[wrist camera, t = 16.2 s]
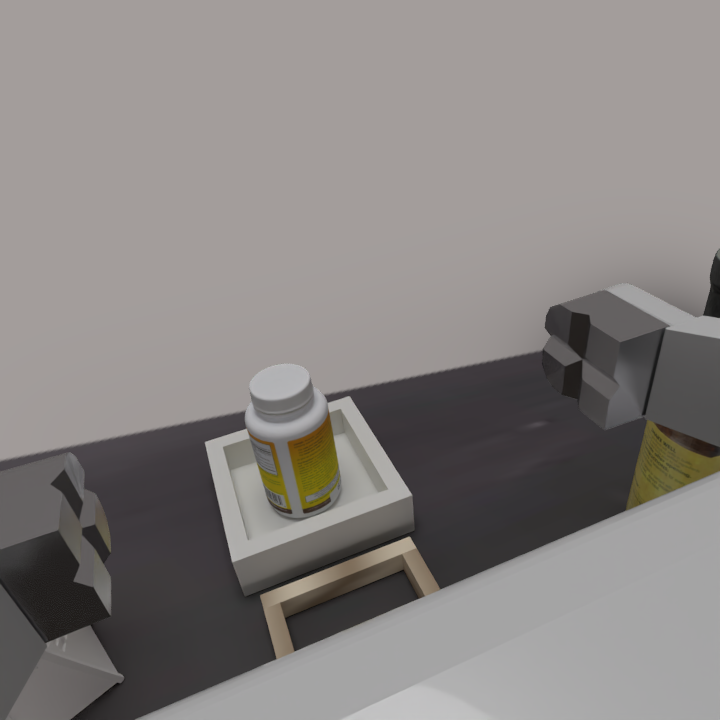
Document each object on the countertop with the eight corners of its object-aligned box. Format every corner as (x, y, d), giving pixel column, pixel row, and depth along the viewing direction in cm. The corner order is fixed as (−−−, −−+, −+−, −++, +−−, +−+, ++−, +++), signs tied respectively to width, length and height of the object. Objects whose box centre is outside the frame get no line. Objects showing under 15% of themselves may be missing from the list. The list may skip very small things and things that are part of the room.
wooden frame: (311, 785, 27) (306, 772, 26) (265, 610, 35) (260, 595, 34) (492, 697, 29) (493, 681, 29) (410, 552, 37) (409, 536, 37)
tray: (244, 596, 36) (232, 562, 34) (215, 474, 45) (204, 442, 44) (414, 530, 39) (412, 495, 37) (354, 428, 48) (349, 396, 46)
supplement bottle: (348, 466, 43) (330, 356, 38) (334, 524, 39) (312, 408, 33) (279, 464, 44) (251, 356, 39) (257, 519, 40) (223, 407, 34)
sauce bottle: (712, 617, 32) (844, 309, 21) (602, 559, 36) (664, 272, 25) (744, 541, 36) (871, 246, 25) (642, 496, 39) (711, 223, 28)
